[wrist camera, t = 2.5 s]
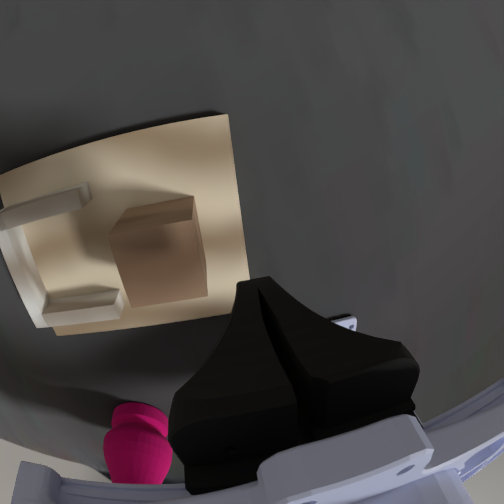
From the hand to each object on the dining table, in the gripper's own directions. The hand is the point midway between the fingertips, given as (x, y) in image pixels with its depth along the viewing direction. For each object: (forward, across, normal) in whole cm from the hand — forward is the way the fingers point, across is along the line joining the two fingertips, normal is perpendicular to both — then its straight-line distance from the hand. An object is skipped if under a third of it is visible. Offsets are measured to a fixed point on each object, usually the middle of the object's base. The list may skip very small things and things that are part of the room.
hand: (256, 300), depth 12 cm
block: (+9, +4, 0) cm, 10 cm away
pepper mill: (+10, +14, +20) cm, 27 cm away
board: (+10, +8, 0) cm, 13 cm away
